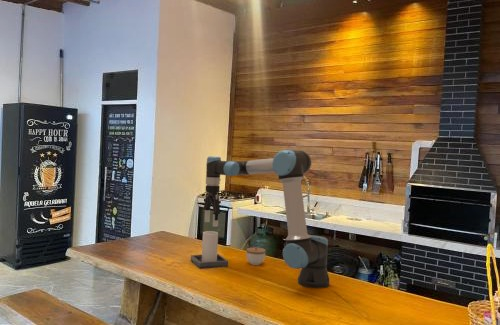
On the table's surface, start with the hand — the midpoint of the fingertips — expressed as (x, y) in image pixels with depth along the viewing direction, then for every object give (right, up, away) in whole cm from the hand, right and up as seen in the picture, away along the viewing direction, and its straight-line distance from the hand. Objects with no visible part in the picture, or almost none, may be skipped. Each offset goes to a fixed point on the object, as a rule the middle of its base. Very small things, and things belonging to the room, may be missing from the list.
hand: (211, 224), depth 231 cm
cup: (-1, -21, +1) cm, 21 cm away
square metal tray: (-1, -22, +1) cm, 22 cm away
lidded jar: (+24, -23, +6) cm, 34 cm away
